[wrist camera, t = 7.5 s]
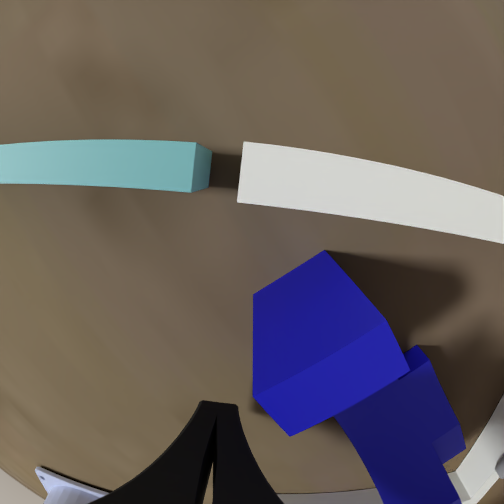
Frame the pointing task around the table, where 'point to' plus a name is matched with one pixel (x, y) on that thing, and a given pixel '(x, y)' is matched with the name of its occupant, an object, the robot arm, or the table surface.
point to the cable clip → (353, 381)
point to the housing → (393, 211)
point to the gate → (108, 164)
